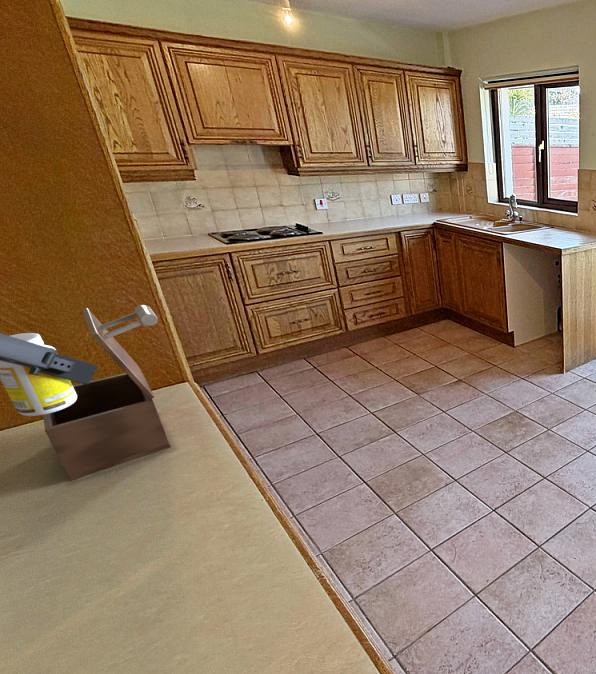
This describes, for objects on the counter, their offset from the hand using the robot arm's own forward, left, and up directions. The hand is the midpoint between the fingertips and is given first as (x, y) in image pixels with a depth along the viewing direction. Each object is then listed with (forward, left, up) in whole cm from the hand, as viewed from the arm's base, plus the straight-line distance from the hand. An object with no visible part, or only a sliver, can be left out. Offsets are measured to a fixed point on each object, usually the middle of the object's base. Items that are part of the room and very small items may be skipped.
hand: (69, 372), depth 67 cm
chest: (-13, +9, -21) cm, 27 cm away
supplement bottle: (0, -4, -4) cm, 5 cm away
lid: (-11, +13, -5) cm, 18 cm away
